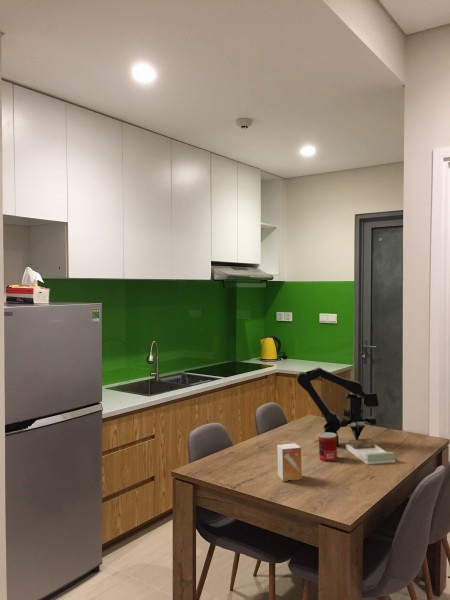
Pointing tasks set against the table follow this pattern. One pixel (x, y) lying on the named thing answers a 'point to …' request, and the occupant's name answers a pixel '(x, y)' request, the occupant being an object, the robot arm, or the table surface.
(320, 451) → the canned food
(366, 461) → the track
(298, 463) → the small box
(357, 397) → the robot arm
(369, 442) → the block
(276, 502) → the table surface
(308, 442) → the table surface
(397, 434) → the table surface
